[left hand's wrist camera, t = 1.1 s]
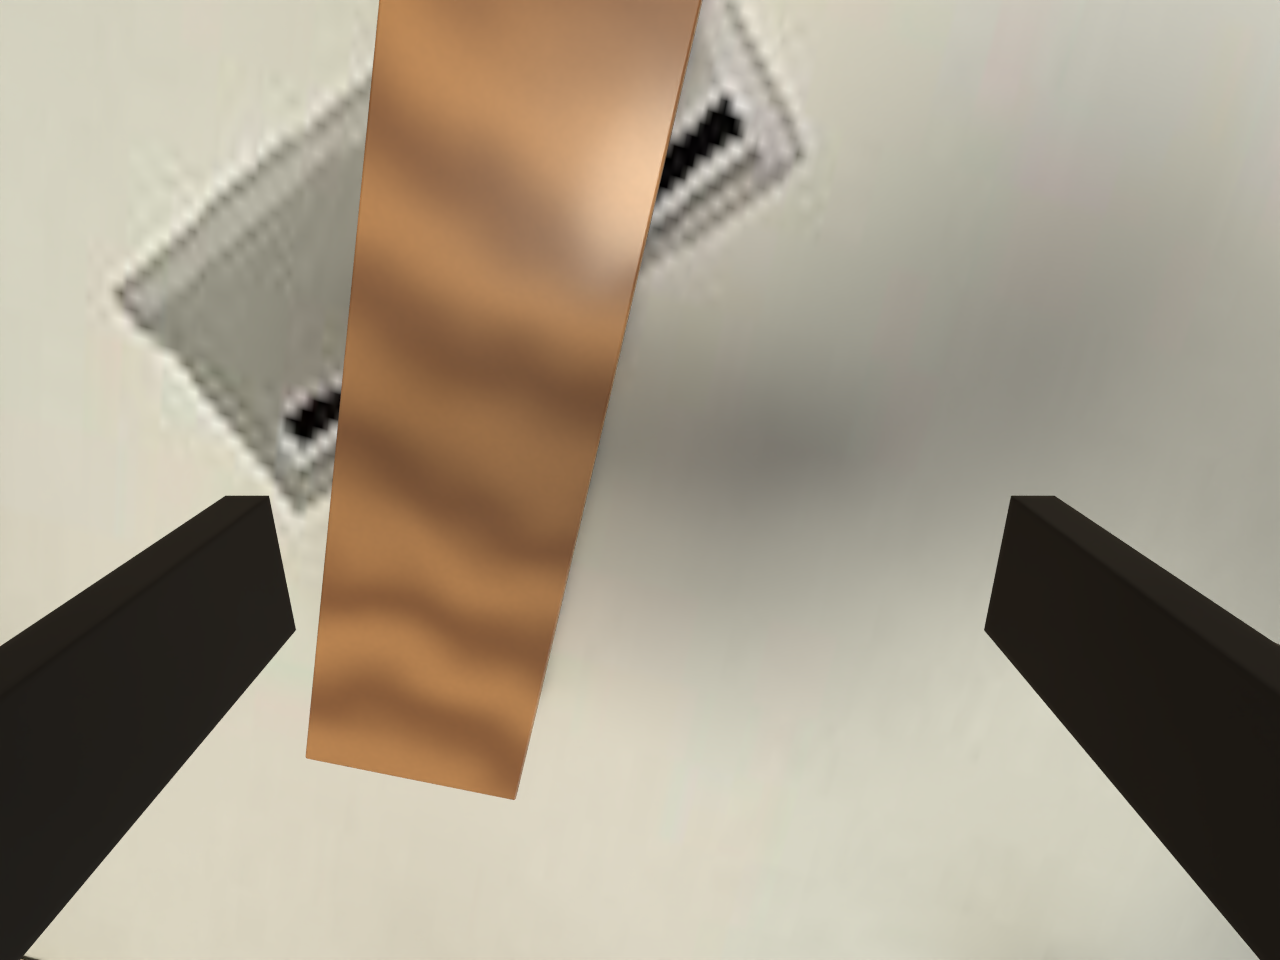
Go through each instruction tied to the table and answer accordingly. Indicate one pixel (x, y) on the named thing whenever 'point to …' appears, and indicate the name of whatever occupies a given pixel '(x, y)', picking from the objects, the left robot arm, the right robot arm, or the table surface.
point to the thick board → (481, 364)
